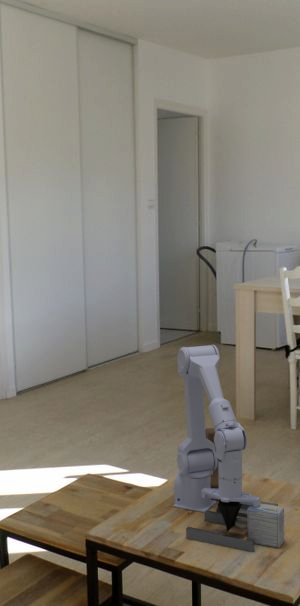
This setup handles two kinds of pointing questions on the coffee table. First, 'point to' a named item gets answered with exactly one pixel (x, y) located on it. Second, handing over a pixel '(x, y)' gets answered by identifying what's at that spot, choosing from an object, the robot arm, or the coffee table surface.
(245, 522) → the brown block grey dome
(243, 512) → the tray
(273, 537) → the medicine box
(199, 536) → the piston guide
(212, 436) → the wooden block
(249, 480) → the coffee table surface
